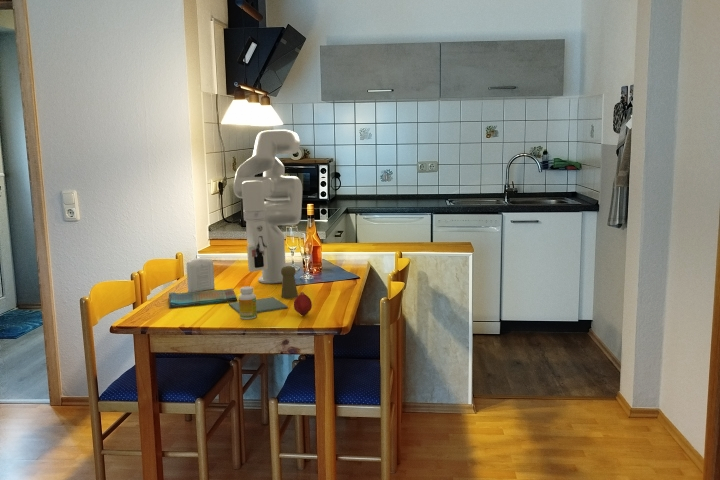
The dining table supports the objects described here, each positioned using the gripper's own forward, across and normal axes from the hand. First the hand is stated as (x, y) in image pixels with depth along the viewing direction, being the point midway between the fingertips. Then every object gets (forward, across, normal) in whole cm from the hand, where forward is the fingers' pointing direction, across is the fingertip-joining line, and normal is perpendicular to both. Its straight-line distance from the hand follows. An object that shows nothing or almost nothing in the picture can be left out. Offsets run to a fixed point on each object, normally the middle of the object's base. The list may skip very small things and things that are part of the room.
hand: (258, 266), depth 241 cm
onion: (+11, -31, -4) cm, 33 cm away
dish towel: (+12, +9, +19) cm, 24 cm away
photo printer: (+12, +23, +16) cm, 30 cm away
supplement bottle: (+11, -23, +12) cm, 28 cm away
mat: (+11, -12, +5) cm, 17 cm away
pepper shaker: (+12, -5, -9) cm, 16 cm away
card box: (+1, 0, 0) cm, 1 cm away
